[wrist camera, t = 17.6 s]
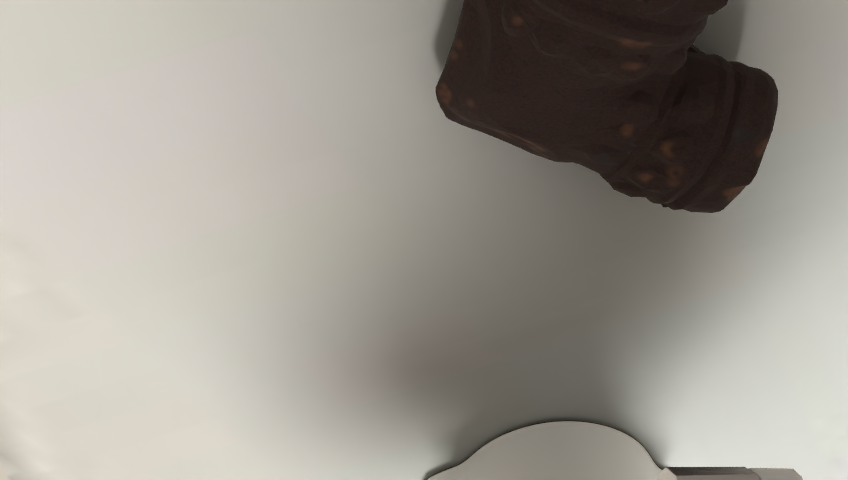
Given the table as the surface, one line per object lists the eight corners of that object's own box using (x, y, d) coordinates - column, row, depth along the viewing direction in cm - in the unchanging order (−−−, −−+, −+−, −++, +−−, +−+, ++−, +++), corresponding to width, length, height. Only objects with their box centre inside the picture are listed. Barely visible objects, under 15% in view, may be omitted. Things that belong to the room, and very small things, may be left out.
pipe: (714, 271, 38) (940, -10, 28) (407, 190, 36) (528, -147, 26) (683, 144, 45) (856, -120, 35) (424, 70, 43) (525, -234, 33)
